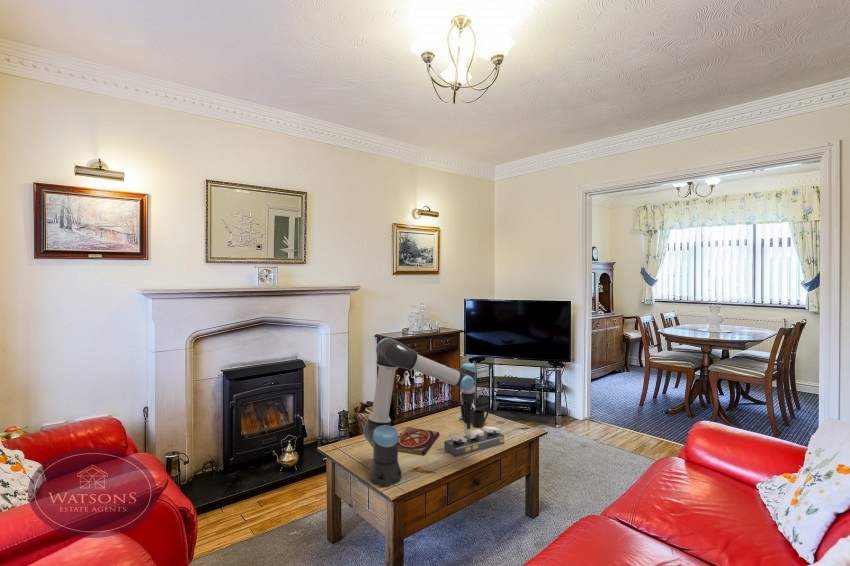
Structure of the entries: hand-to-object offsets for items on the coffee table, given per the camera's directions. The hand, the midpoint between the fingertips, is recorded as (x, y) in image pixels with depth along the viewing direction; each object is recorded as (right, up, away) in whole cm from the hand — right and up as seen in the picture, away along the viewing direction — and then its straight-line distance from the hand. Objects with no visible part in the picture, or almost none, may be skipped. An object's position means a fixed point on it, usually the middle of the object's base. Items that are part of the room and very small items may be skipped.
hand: (467, 434), depth 234 cm
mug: (+12, -7, +34) cm, 37 cm away
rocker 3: (+15, -3, +9) cm, 17 cm away
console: (+5, -8, +3) cm, 10 cm away
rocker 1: (-6, -3, -3) cm, 8 cm away
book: (-29, -9, +9) cm, 32 cm away
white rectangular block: (+5, -3, +3) cm, 6 cm away
